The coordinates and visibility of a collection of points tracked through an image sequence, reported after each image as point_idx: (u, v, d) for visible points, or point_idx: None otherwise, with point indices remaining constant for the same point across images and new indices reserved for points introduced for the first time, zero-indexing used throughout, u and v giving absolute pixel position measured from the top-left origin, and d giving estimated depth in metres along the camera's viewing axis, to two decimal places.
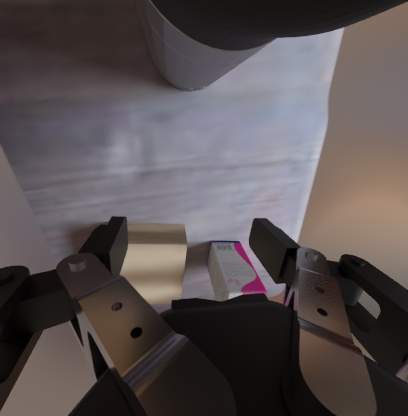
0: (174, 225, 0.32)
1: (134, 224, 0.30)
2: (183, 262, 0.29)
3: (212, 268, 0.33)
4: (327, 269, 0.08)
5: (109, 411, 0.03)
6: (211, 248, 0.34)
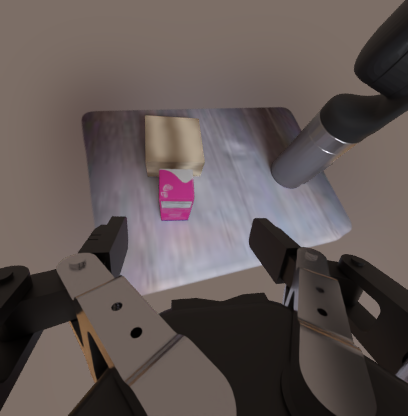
0: None
1: None
2: (189, 161, 0.40)
3: None
4: (327, 269, 0.08)
5: (109, 411, 0.03)
6: None
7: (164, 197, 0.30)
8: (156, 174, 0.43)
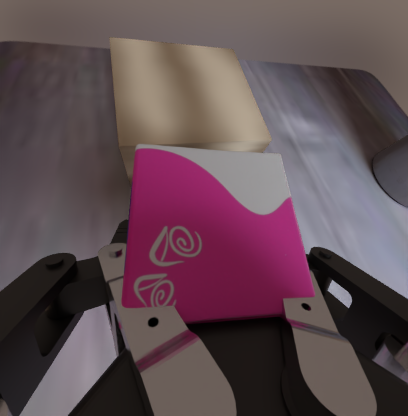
0: None
1: None
2: (235, 138, 0.15)
3: None
4: None
5: (121, 388, 0.04)
6: None
7: None
8: None
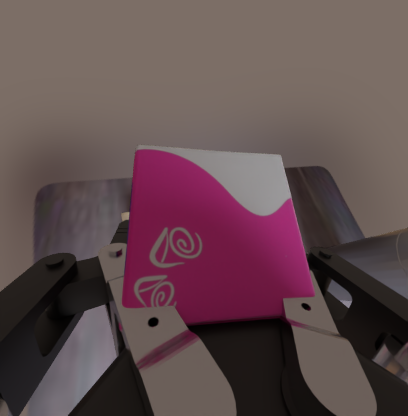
0: None
1: None
2: None
3: None
4: None
5: (121, 388, 0.04)
6: None
7: None
8: None
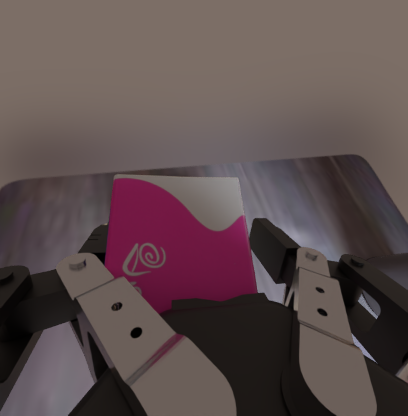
0: None
1: None
2: None
3: None
4: (327, 269, 0.08)
5: (109, 411, 0.03)
6: None
7: None
8: None
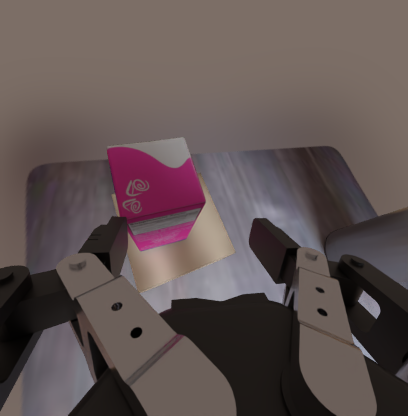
0: None
1: None
2: (211, 260, 0.23)
3: None
4: (327, 269, 0.08)
5: (109, 411, 0.03)
6: None
7: (134, 212, 0.12)
8: None
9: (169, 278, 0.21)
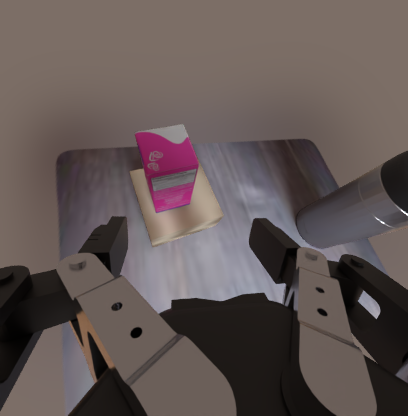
0: None
1: None
2: (205, 220, 0.30)
3: None
4: (327, 269, 0.08)
5: (109, 411, 0.03)
6: None
7: (154, 170, 0.19)
8: (163, 242, 0.32)
9: (173, 231, 0.29)
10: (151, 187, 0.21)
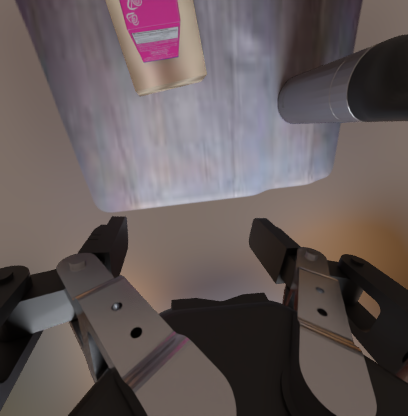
0: None
1: None
2: (187, 76, 0.31)
3: None
4: (327, 269, 0.08)
5: (109, 411, 0.03)
6: None
7: (134, 24, 0.19)
8: (149, 93, 0.35)
9: (156, 85, 0.31)
10: (133, 40, 0.22)
